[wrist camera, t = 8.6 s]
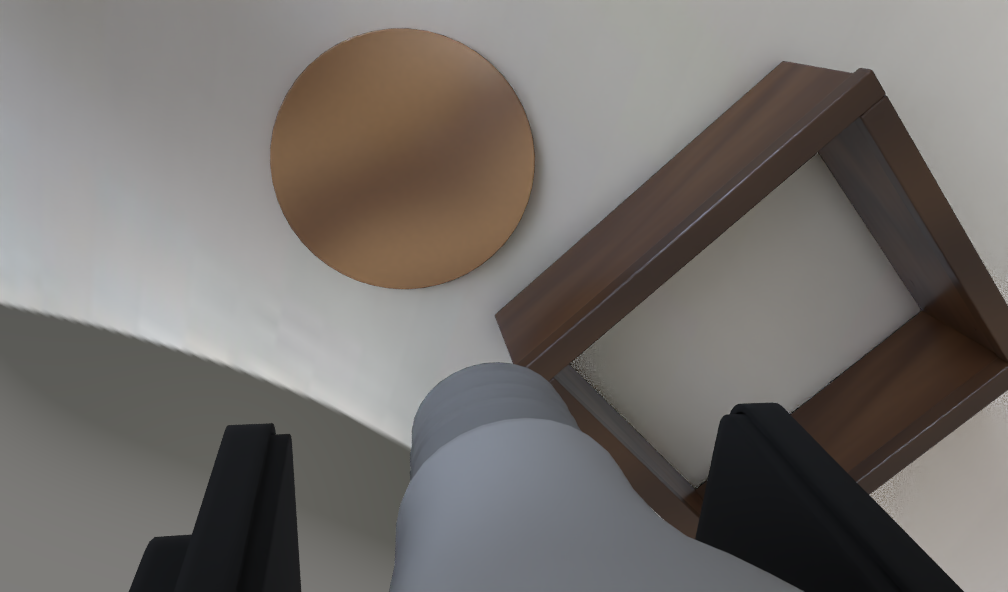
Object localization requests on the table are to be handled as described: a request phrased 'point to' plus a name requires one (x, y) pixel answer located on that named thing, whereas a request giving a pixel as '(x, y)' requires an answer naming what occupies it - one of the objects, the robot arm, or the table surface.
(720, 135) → the wooden frame
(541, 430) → the lightbulb
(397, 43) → the coaster
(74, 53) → the table surface
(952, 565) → the table surface
